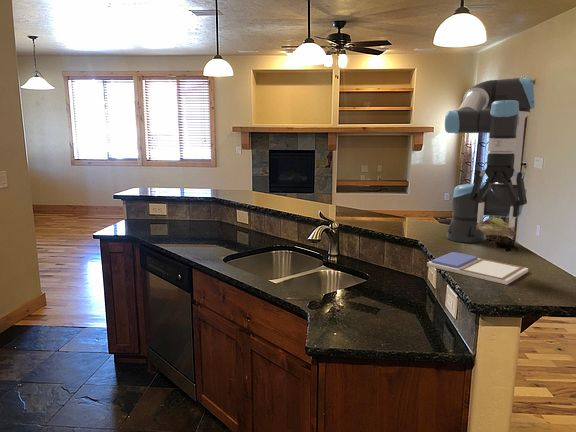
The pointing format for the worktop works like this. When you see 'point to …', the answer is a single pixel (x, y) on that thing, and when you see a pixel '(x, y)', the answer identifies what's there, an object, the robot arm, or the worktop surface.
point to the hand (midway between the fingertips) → (495, 224)
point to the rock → (495, 227)
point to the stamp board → (478, 267)
